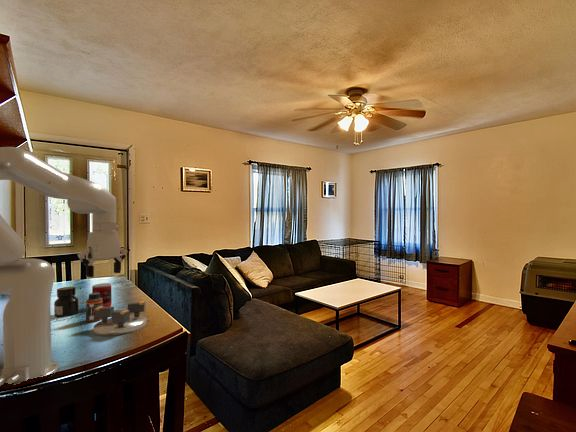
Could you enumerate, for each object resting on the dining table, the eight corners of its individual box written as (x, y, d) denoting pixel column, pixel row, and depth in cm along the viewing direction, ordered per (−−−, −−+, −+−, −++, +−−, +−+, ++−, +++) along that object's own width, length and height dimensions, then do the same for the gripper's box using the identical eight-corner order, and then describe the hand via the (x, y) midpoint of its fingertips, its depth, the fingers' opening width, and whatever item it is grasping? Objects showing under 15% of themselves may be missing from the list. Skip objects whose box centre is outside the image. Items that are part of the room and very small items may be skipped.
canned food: (94, 306, 145) (93, 284, 145) (112, 303, 149) (112, 282, 149) (91, 310, 138) (90, 287, 139) (110, 307, 142) (110, 285, 142)
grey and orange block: (128, 318, 118) (127, 303, 118) (129, 316, 121) (129, 302, 121) (144, 316, 120) (143, 302, 120) (145, 314, 122) (145, 301, 122)
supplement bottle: (94, 322, 120) (94, 295, 120) (82, 322, 121) (81, 295, 122) (106, 318, 126) (105, 291, 126) (94, 317, 127) (94, 291, 127)
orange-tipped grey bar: (114, 320, 116) (113, 306, 116) (110, 322, 113) (109, 307, 113) (99, 320, 116) (98, 306, 116) (94, 322, 113) (94, 308, 113)
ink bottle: (54, 314, 134) (54, 288, 134) (78, 310, 139) (77, 284, 140) (54, 319, 126) (53, 291, 126) (79, 314, 132) (78, 288, 132)
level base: (137, 333, 107) (137, 323, 107) (83, 338, 104) (83, 327, 104) (152, 317, 125) (152, 308, 125) (106, 321, 122) (106, 311, 122)
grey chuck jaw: (111, 326, 108) (111, 311, 108) (117, 324, 111) (116, 309, 111) (124, 328, 107) (124, 312, 107) (130, 325, 109) (129, 310, 109)
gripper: (120, 228, 117) (120, 271, 116) (72, 228, 102) (72, 278, 101) (132, 227, 113) (132, 272, 113) (84, 228, 98) (84, 279, 97)
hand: (104, 274), depth 107 cm, fingers open, 9 cm apart
